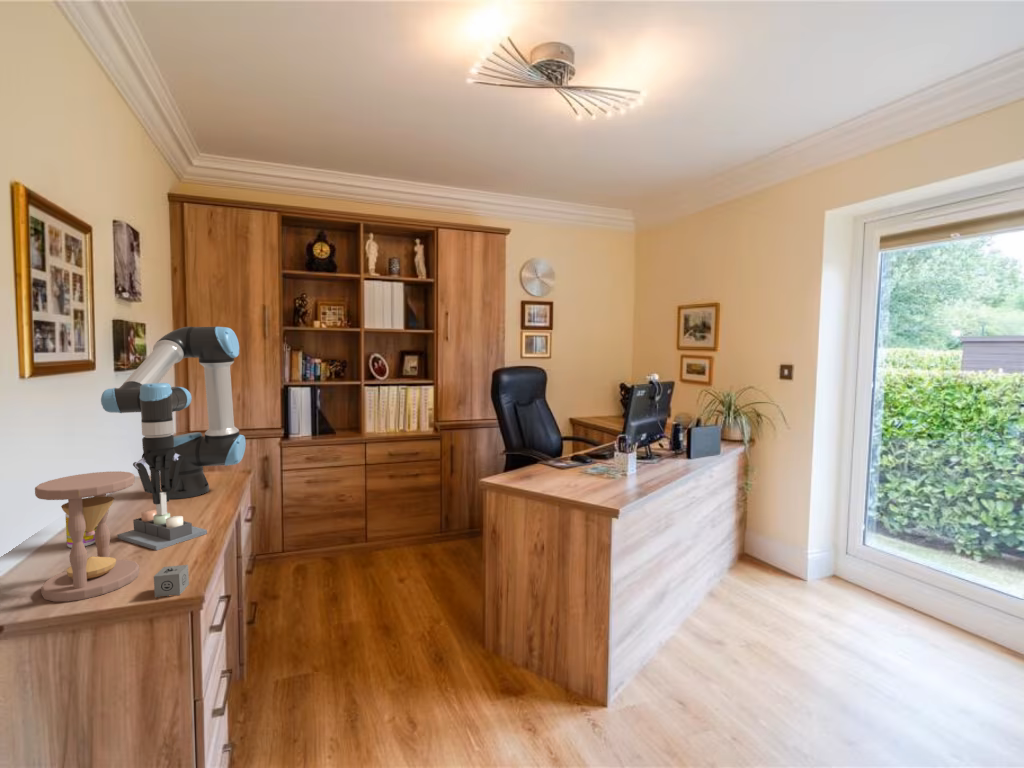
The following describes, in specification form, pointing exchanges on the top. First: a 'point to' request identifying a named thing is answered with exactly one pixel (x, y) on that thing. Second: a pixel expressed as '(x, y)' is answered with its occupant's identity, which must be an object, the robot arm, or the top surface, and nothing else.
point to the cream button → (174, 521)
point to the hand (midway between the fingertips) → (161, 513)
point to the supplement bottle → (86, 539)
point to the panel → (160, 534)
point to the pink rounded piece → (148, 515)
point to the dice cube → (171, 580)
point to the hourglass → (85, 515)
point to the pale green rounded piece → (160, 518)
